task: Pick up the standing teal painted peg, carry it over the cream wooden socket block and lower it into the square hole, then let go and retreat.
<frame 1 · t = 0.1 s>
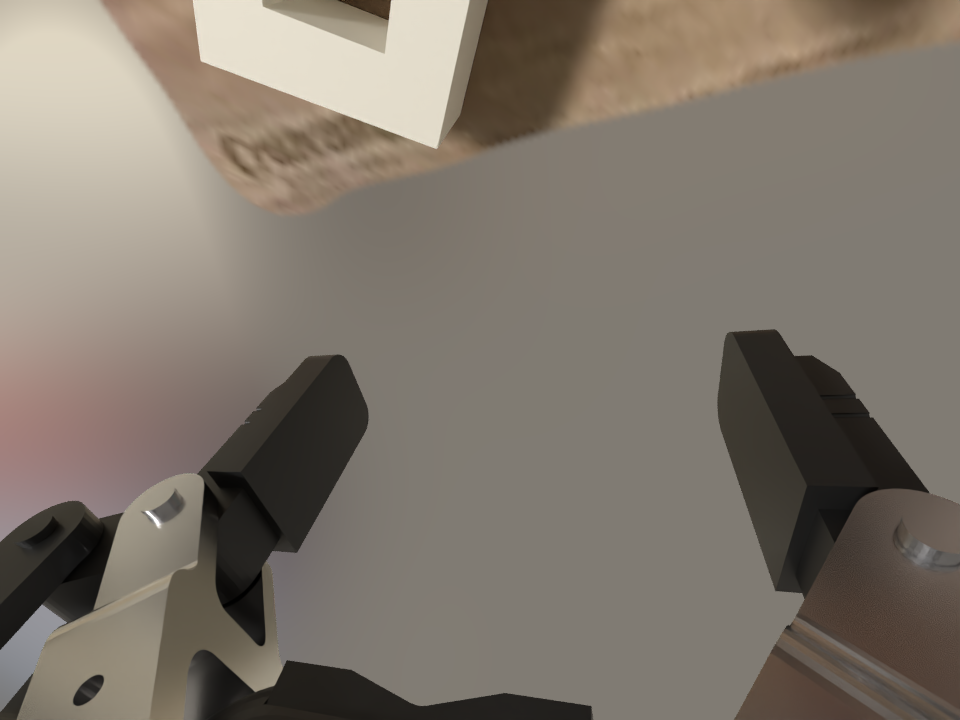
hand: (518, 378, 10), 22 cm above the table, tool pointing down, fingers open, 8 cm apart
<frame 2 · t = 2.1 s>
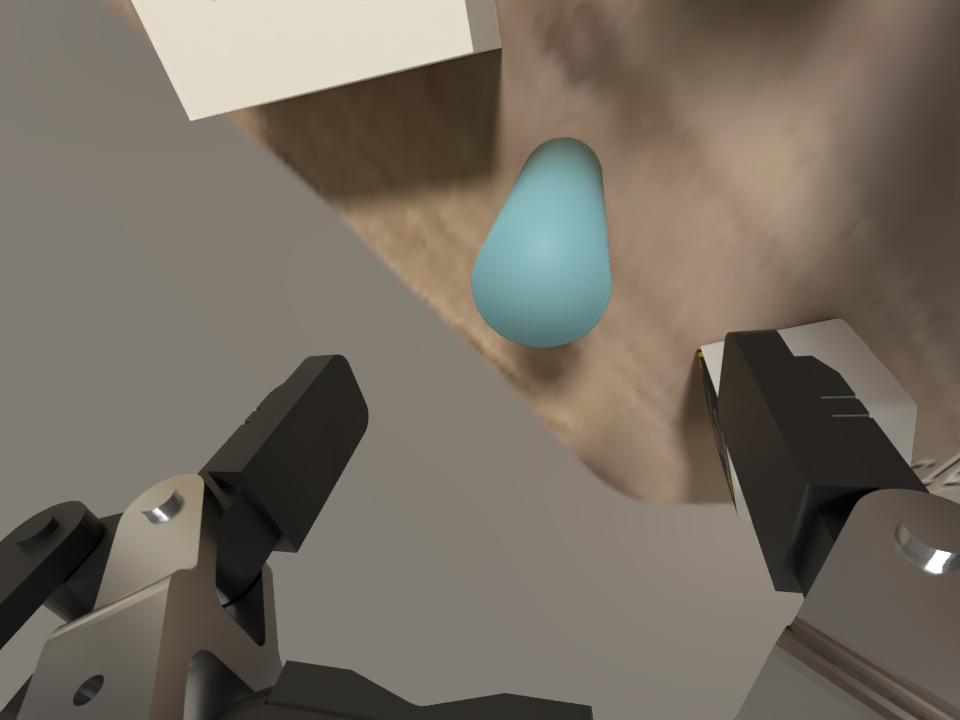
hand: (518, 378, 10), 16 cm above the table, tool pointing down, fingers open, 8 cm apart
peg: (560, 181, 23), on the table
medicine bottle: (769, 377, 27), on the table
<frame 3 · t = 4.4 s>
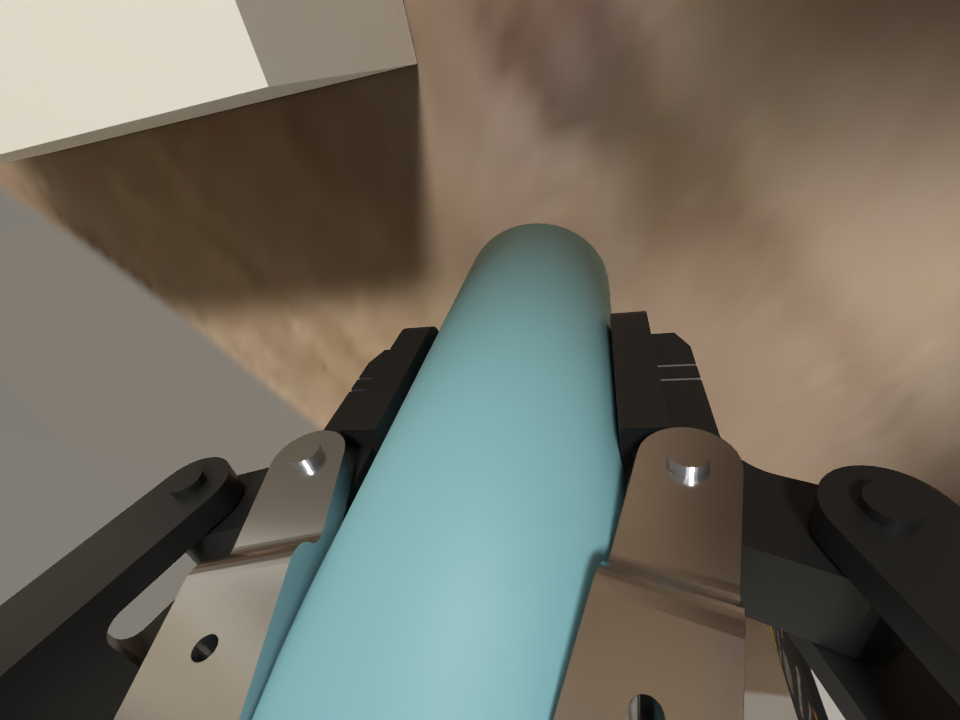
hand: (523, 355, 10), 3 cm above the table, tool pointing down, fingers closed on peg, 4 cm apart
peg: (537, 292, 13), on the table, touching gripper
medicine bottle: (865, 569, 17), on the table
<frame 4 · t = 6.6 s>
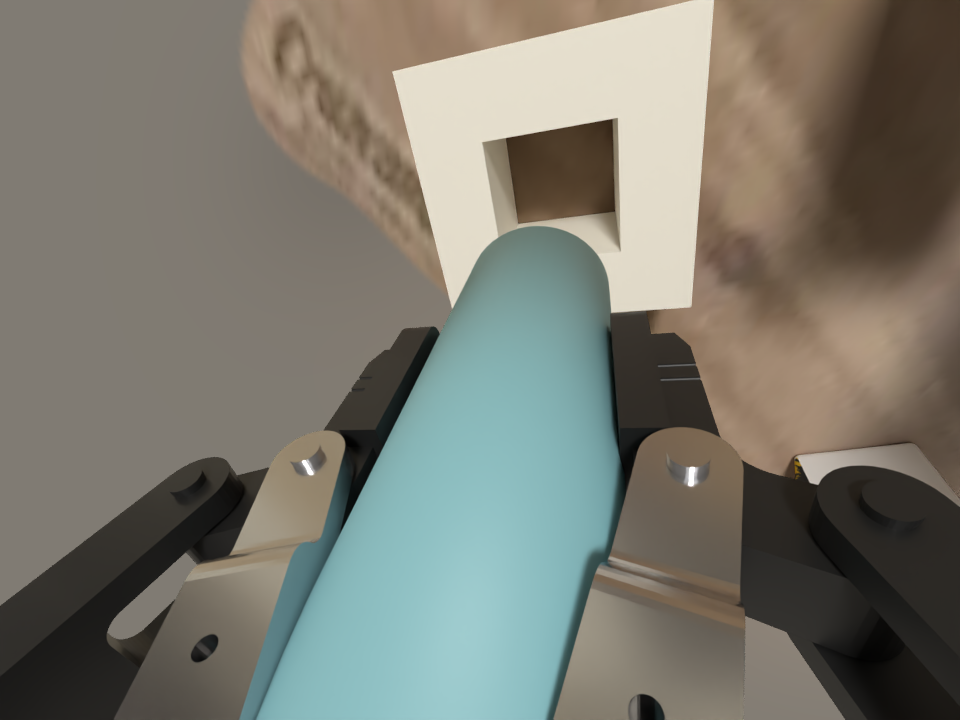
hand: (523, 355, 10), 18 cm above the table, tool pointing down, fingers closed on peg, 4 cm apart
peg: (537, 294, 13), point 15 cm above the table, touching gripper
medicine bottle: (848, 478, 34), on the table
socket block: (560, 167, 25), on the table
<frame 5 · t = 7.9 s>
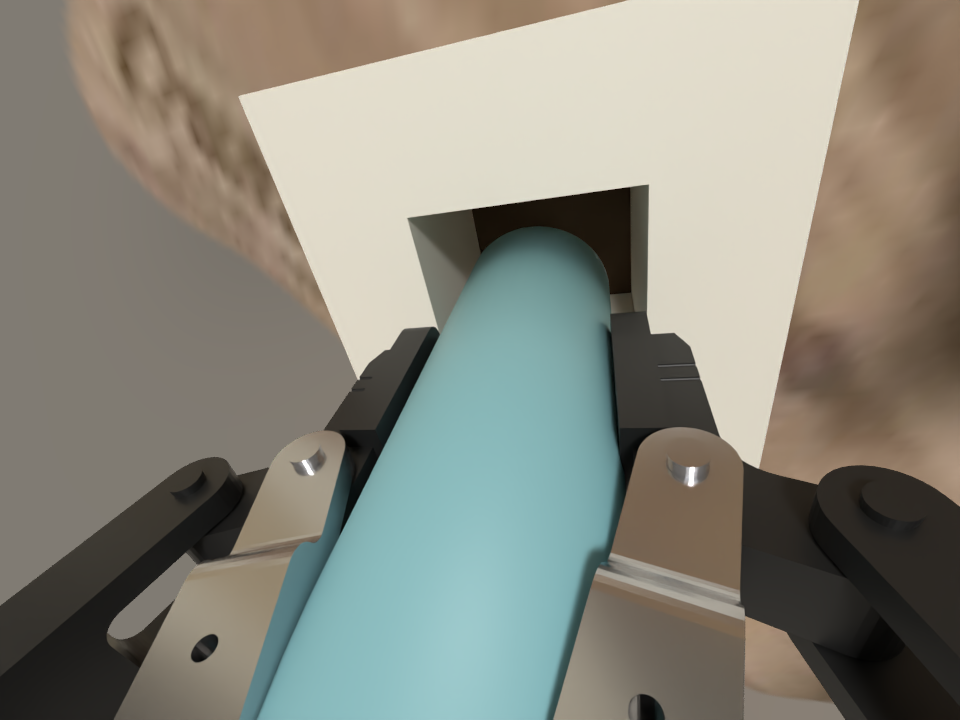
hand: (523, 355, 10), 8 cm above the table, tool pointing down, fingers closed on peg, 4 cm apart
peg: (537, 294, 13), point 5 cm above the table, touching gripper
socket block: (550, 230, 17), on the table
when the fingers open (6 cm above the table, at t = 8.9 s): peg drops 3 cm, resting in socket block.
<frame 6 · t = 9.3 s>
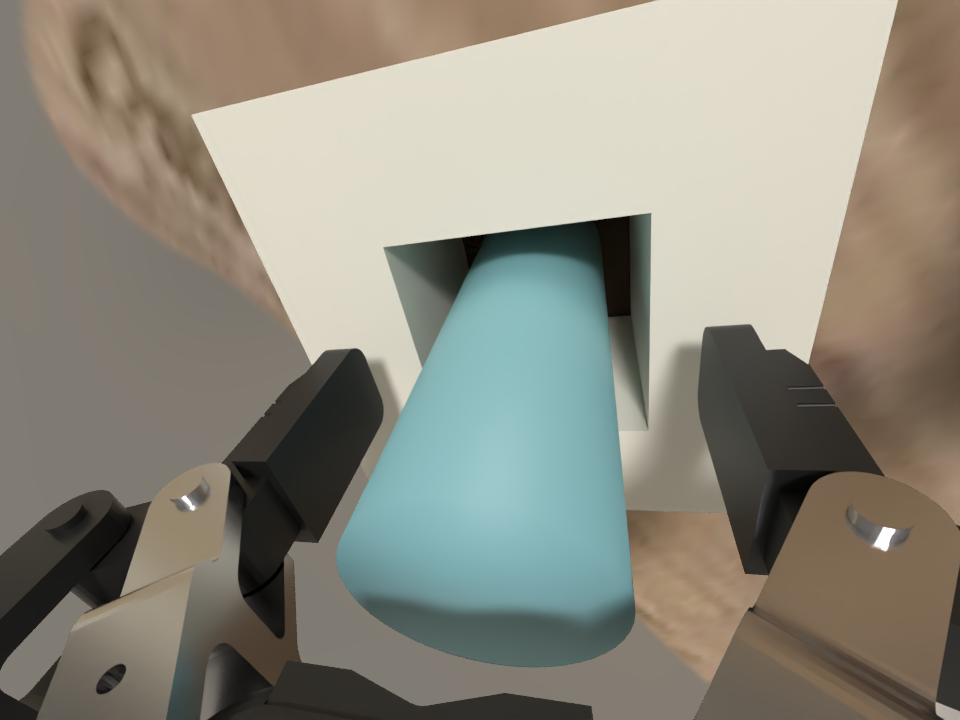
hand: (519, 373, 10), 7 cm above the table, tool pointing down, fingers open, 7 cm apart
peg: (541, 253, 16), resting in socket block
medicine bottle: (952, 651, 24), on the table
socket block: (544, 250, 16), on the table
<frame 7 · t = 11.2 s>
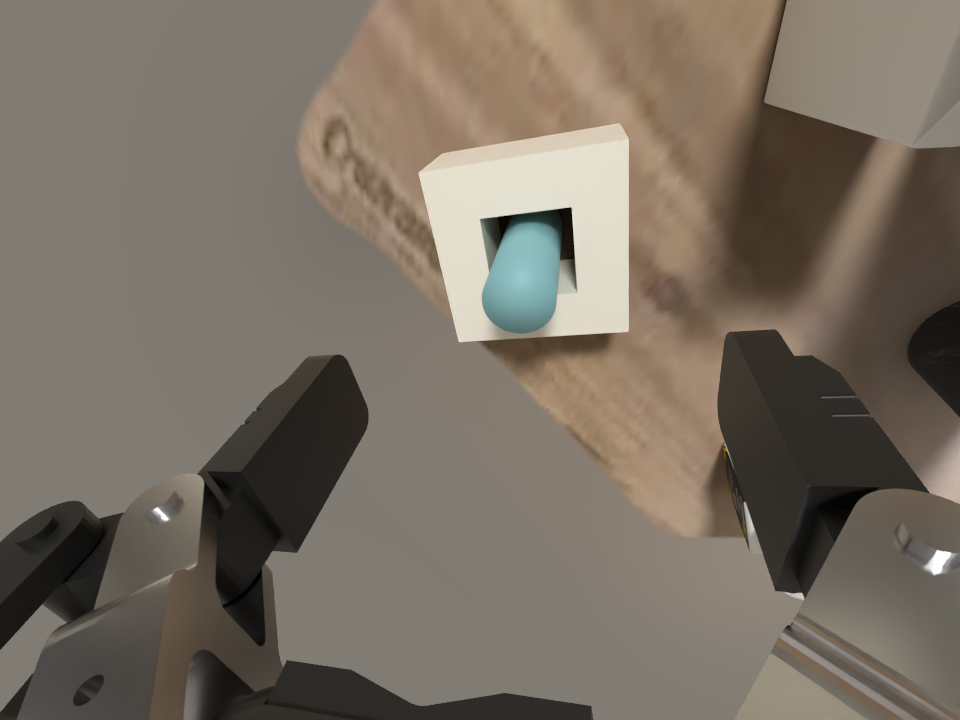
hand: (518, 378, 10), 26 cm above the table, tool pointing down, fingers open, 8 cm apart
peg: (535, 227, 34), resting in socket block
medicine bottle: (766, 461, 43), on the table
milk carton: (848, 22, 25), on the table
socket block: (536, 226, 34), on the table
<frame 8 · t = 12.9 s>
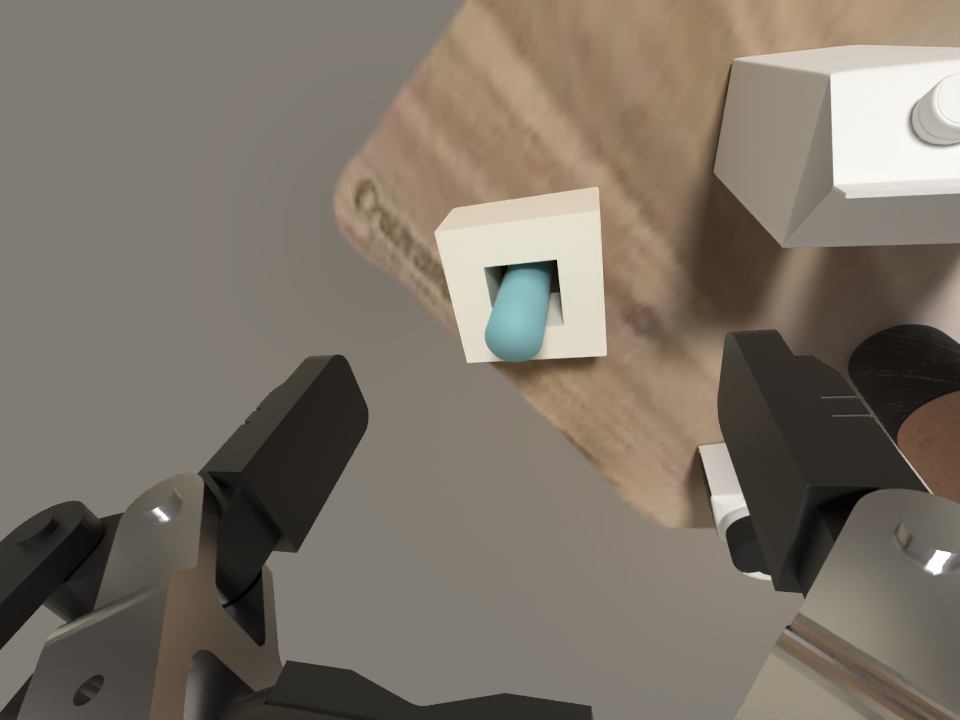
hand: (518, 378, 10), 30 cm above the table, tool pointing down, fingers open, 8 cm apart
peg: (531, 266, 40), resting in socket block
travel mug: (895, 358, 39), on the table
medicine bottle: (736, 461, 49), on the table
milk carton: (777, 113, 31), on the table
socket block: (532, 266, 40), on the table
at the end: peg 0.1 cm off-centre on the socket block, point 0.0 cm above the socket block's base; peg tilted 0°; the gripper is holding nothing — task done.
